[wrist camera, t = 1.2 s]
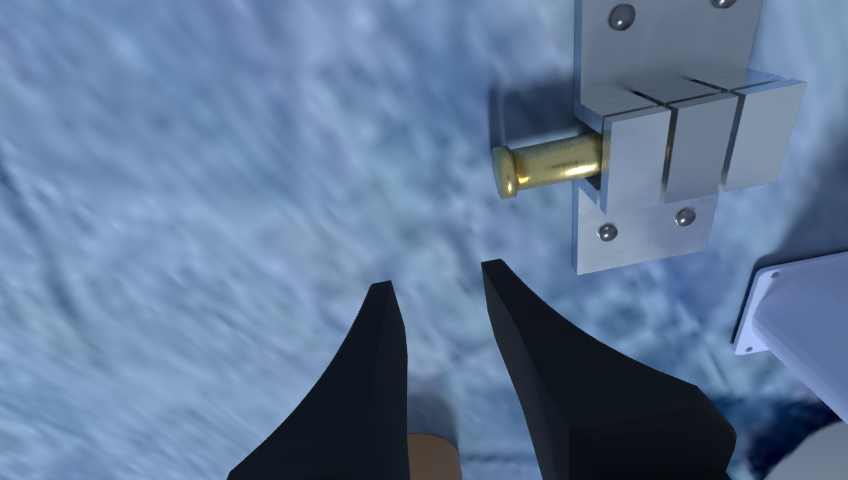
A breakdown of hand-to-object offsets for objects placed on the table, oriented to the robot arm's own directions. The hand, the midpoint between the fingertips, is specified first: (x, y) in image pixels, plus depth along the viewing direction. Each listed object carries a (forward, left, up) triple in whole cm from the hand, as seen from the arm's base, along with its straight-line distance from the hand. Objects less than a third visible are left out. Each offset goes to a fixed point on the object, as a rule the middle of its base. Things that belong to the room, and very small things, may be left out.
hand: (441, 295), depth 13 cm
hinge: (-12, 0, -10) cm, 16 cm away
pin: (-9, 0, -10) cm, 13 cm away
